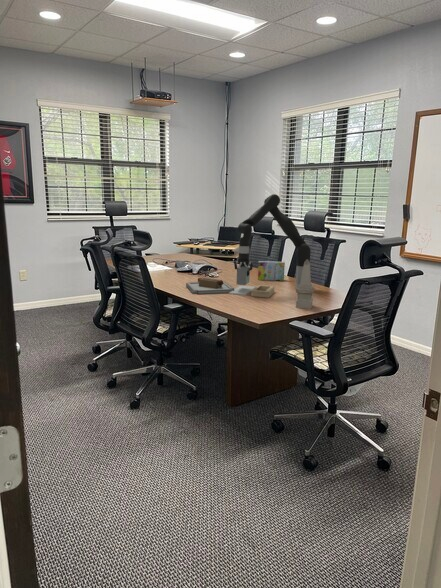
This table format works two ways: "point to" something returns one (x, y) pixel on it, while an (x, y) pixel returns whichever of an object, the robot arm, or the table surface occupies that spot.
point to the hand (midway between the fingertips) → (243, 275)
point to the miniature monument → (305, 288)
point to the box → (242, 276)
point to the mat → (242, 290)
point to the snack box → (271, 270)
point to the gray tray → (209, 286)
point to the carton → (263, 291)
